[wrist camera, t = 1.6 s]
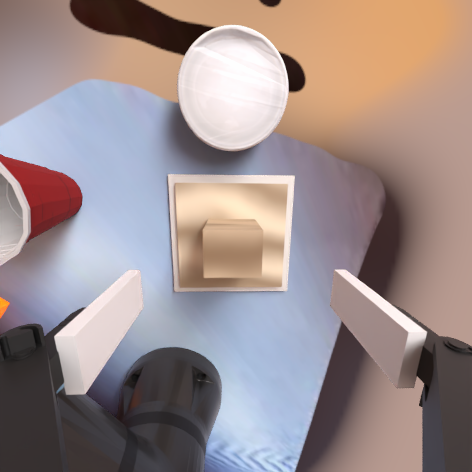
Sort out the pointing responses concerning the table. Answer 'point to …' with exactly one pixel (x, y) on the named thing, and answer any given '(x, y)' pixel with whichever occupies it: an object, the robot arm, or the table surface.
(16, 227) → the plastic cup
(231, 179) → the white square panel
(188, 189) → the birch lid
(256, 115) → the ramekin
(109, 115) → the table surface
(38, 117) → the table surface
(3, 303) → the orange juice
